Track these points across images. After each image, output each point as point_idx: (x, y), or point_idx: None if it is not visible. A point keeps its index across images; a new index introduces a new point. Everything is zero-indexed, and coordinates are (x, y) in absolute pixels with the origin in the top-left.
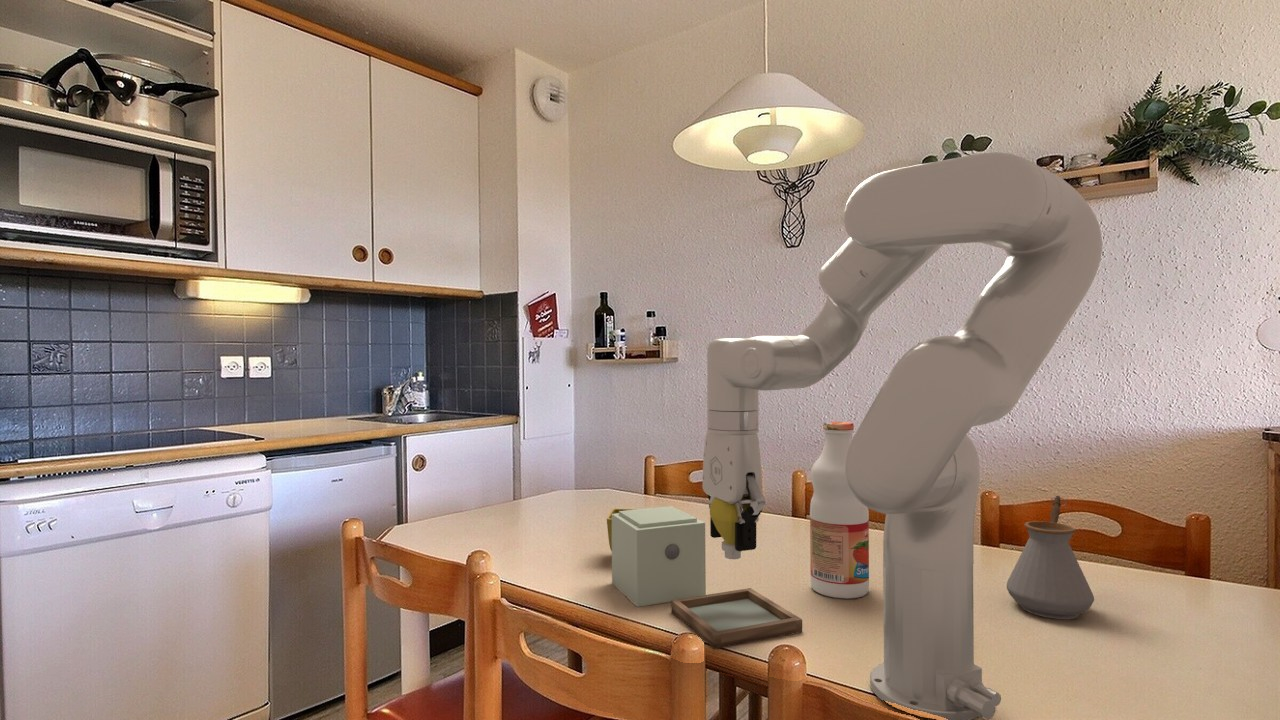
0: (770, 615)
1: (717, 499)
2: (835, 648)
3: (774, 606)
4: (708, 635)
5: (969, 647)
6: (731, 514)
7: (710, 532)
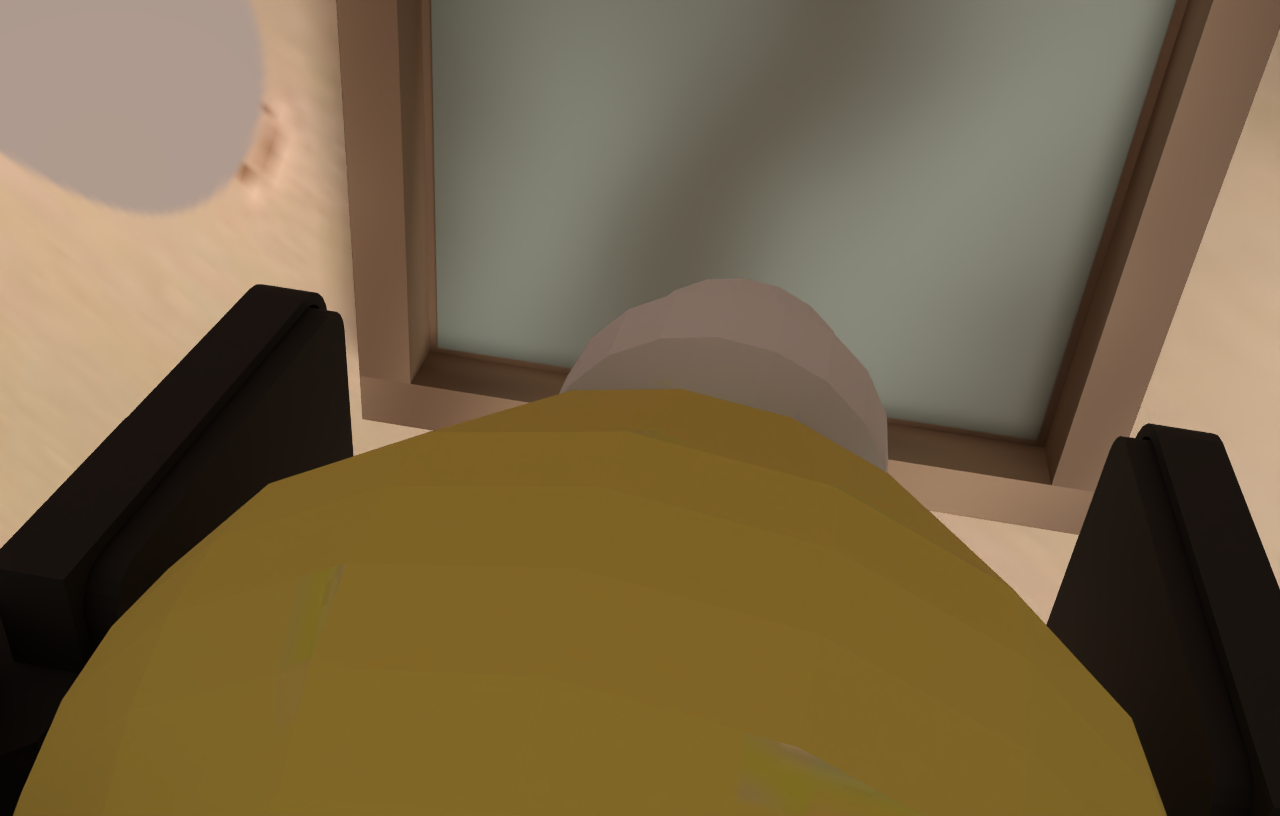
0: None
1: None
2: (127, 365)
3: None
4: None
5: None
6: (64, 706)
7: (1230, 468)
